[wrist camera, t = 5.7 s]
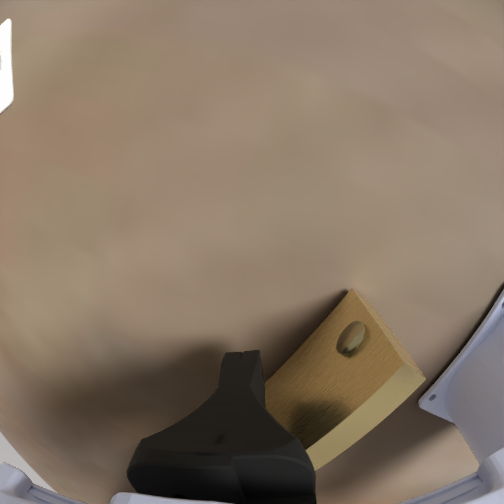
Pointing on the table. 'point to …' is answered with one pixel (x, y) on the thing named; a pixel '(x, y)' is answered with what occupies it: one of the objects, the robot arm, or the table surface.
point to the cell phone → (6, 66)
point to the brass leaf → (341, 380)
